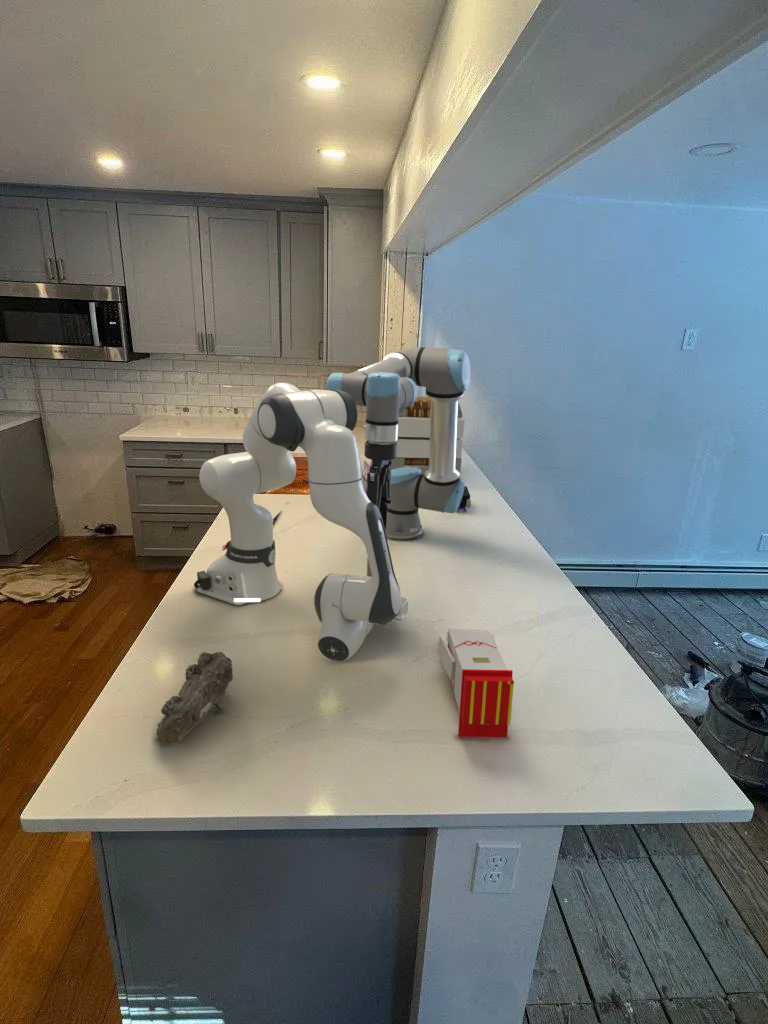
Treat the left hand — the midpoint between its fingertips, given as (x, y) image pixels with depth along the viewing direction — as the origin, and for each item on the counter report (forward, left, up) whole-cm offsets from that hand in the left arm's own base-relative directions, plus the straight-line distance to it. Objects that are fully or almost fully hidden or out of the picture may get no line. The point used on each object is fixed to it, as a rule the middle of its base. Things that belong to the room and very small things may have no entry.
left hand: (375, 588), depth 146 cm
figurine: (-32, +91, -7) cm, 97 cm away
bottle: (0, -1, -7) cm, 7 cm away
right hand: (0, -1, +16) cm, 16 cm away
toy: (+29, -24, -7) cm, 38 cm away
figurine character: (+7, +92, -7) cm, 92 cm away
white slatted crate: (-21, +134, -7) cm, 136 cm away
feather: (-56, +55, -7) cm, 79 cm away
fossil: (-20, -48, -7) cm, 52 cm away
